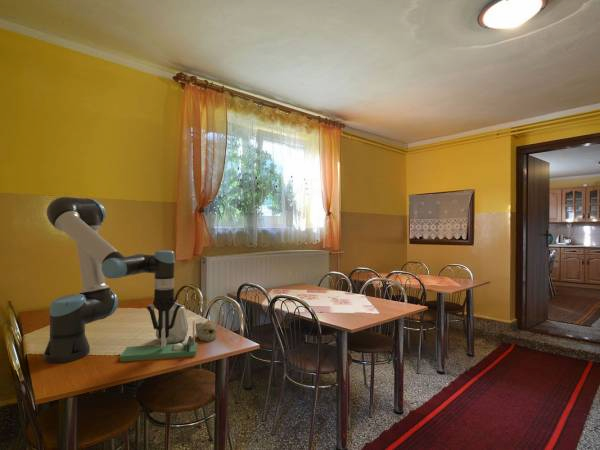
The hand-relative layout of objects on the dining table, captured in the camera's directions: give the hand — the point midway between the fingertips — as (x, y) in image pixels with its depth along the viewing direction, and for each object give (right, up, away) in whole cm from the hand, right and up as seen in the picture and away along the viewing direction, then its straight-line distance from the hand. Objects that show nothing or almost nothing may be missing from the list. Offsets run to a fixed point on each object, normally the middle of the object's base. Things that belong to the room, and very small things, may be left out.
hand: (163, 345), depth 138 cm
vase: (-3, -3, +17) cm, 17 cm away
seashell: (+12, -4, +20) cm, 24 cm away
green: (-1, -3, 0) cm, 4 cm away
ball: (+4, -3, +1) cm, 5 cm away
